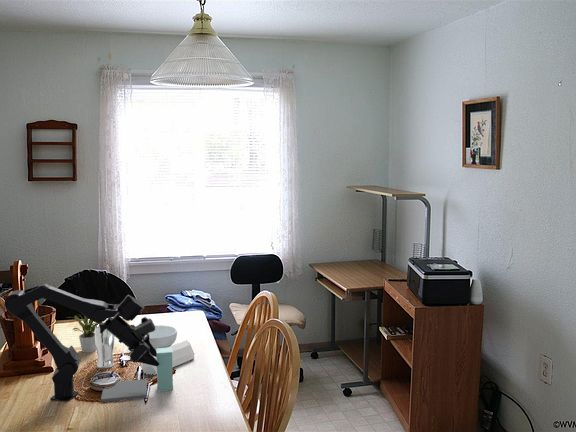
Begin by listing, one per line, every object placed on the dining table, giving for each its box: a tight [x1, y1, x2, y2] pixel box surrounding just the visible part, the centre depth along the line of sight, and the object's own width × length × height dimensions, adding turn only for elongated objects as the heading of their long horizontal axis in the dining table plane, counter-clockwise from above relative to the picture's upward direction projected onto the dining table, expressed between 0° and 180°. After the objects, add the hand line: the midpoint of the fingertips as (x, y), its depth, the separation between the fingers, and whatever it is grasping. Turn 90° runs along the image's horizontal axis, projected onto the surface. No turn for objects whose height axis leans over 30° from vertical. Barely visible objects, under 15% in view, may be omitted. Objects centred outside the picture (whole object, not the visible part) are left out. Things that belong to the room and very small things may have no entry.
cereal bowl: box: [145, 324, 178, 350], centre depth 239 cm, size 17×17×7 cm
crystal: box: [140, 339, 196, 376], centre depth 220 cm, size 7×7×24 cm
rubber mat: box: [100, 378, 148, 403], centre depth 195 cm, size 14×14×1 cm
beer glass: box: [94, 325, 115, 369], centre depth 219 cm, size 7×7×15 cm
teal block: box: [156, 346, 174, 392], centre depth 198 cm, size 5×5×13 cm
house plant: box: [65, 314, 104, 353], centre depth 235 cm, size 14×14×16 cm
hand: (158, 360), depth 197 cm, fingers open, 9 cm apart
